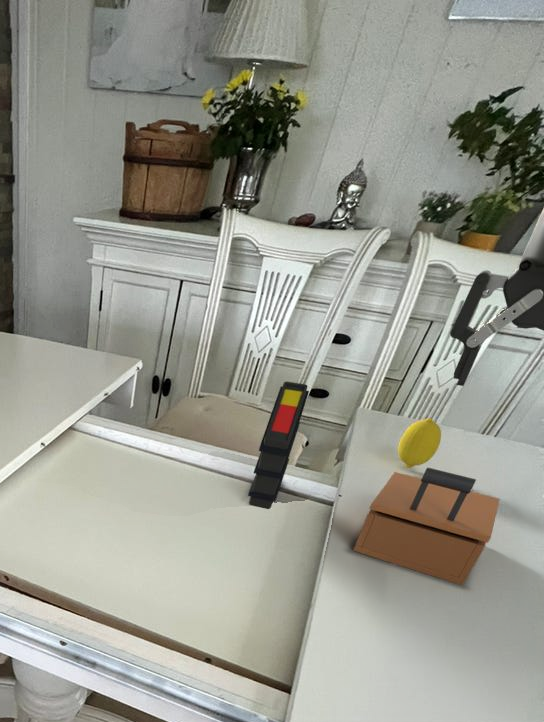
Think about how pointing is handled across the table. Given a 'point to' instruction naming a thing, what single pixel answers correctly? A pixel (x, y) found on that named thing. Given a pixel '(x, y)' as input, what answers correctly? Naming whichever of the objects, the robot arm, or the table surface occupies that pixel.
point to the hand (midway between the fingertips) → (504, 391)
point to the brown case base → (418, 547)
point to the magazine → (277, 444)
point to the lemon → (419, 442)
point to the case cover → (439, 503)
